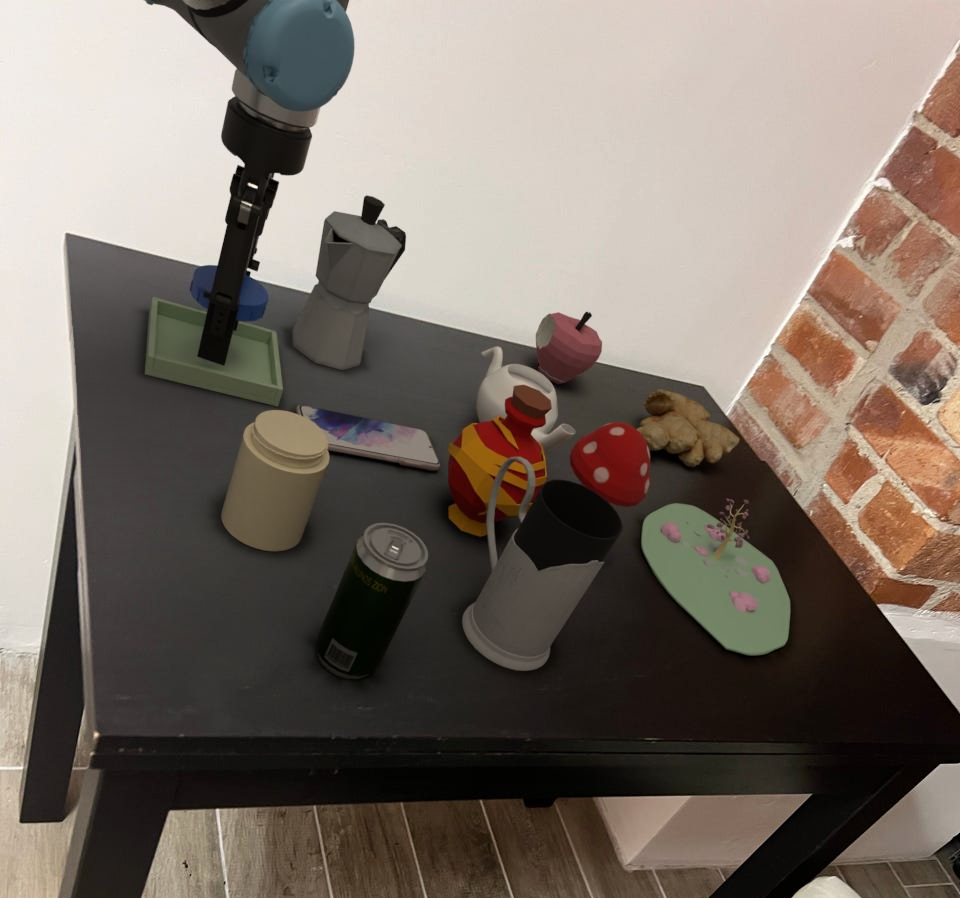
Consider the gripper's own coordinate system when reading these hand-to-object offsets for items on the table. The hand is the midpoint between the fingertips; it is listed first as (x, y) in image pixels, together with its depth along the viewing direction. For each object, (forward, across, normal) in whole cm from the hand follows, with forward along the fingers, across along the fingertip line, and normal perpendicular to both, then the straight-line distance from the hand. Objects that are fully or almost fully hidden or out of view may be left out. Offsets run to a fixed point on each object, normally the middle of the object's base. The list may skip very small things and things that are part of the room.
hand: (217, 341), depth 94 cm
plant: (+2, +11, +61) cm, 62 cm away
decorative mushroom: (+2, +13, +40) cm, 42 cm away
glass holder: (+2, +28, +30) cm, 41 cm away
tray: (+2, 0, 0) cm, 2 cm away
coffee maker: (+2, -12, +12) cm, 17 cm away
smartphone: (+2, +6, +17) cm, 18 cm away
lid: (-6, 0, 0) cm, 6 cm away
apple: (+3, -27, +43) cm, 51 cm away
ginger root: (+3, -20, +60) cm, 64 cm away
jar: (+2, +25, +8) cm, 26 cm away
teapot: (+2, -3, +33) cm, 33 cm away
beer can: (+2, +39, +17) cm, 42 cm away
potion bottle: (+2, +14, +29) cm, 32 cm away
